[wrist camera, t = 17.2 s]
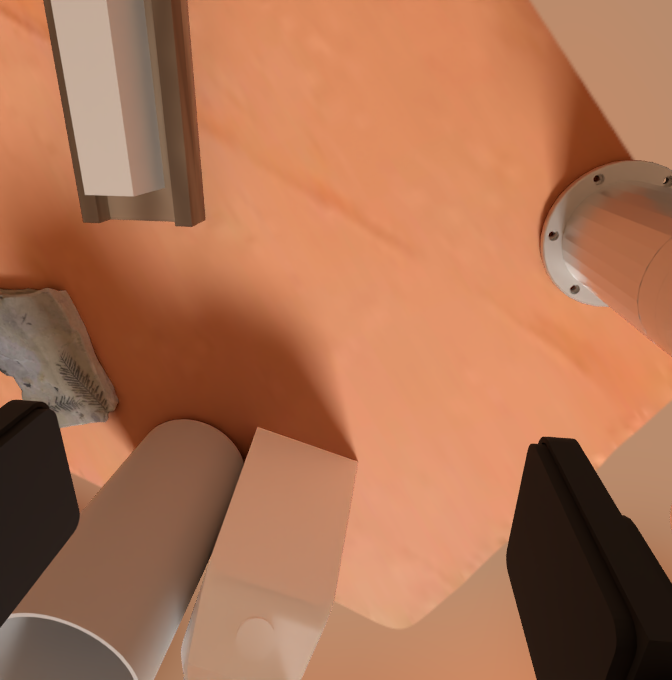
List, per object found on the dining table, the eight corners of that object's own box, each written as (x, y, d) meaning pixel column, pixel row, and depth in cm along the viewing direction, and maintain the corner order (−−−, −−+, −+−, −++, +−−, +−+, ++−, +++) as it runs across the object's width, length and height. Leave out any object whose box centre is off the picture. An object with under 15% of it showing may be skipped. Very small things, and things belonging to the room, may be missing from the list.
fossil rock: (130, 408, 57) (119, 420, 55) (21, 431, 60) (7, 442, 58) (57, 263, 51) (42, 270, 48) (-61, 296, 54) (-80, 304, 51)
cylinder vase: (267, 459, 57) (173, 681, 34) (212, 521, 61) (96, 753, 38) (175, 395, 55) (10, 583, 32) (126, 464, 60) (-49, 672, 37)
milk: (232, 501, 60) (131, 745, 36) (257, 426, 56) (159, 650, 32) (325, 532, 61) (285, 793, 37) (358, 461, 56) (336, 707, 32)
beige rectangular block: (140, -29, 38) (98, -55, 33) (165, 187, 45) (133, 196, 39) (90, -29, 38) (40, -55, 33) (122, 186, 45) (84, 194, 39)
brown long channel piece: (181, -72, 38) (162, -90, 35) (205, 219, 47) (192, 226, 44) (57, -70, 39) (27, -88, 36) (103, 215, 48) (83, 222, 44)
